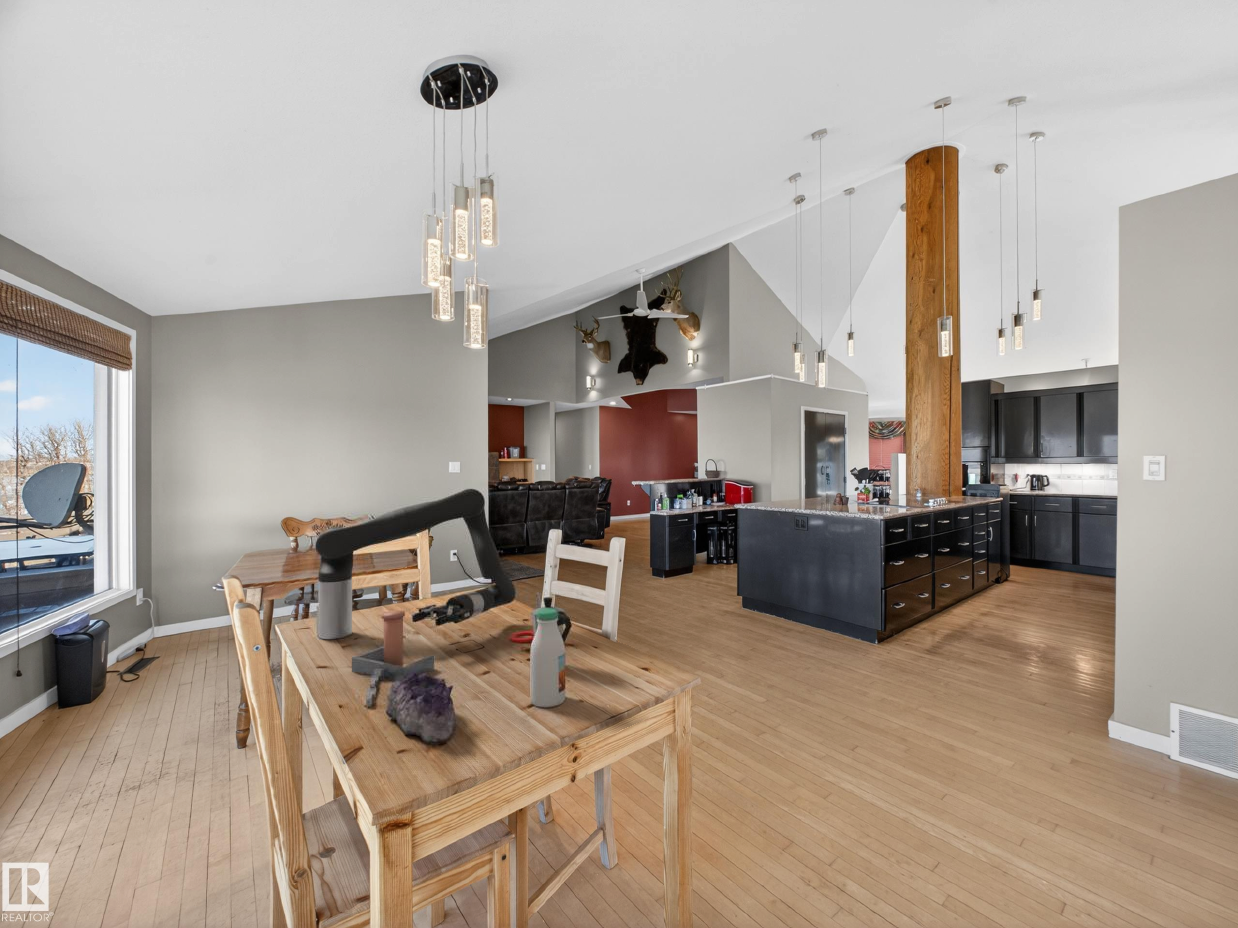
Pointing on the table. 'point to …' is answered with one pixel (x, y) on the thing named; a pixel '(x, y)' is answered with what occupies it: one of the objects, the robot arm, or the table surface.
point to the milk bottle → (547, 662)
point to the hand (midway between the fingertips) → (424, 620)
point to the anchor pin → (393, 636)
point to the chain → (371, 690)
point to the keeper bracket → (389, 666)
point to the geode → (422, 707)
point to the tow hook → (521, 640)
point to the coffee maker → (561, 620)
